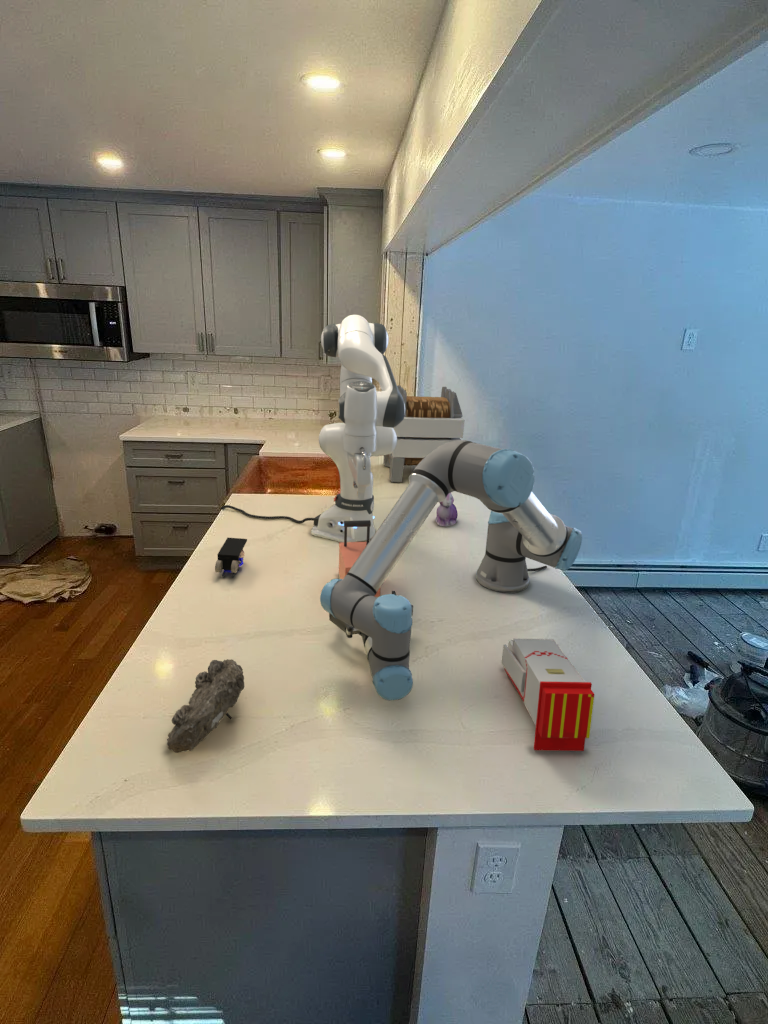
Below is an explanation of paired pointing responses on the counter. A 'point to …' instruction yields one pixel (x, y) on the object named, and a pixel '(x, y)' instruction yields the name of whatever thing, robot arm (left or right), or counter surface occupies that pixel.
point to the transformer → (424, 429)
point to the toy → (550, 693)
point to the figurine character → (230, 556)
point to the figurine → (446, 512)
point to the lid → (353, 544)
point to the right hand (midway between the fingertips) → (366, 596)
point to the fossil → (206, 705)
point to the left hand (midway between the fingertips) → (358, 492)
